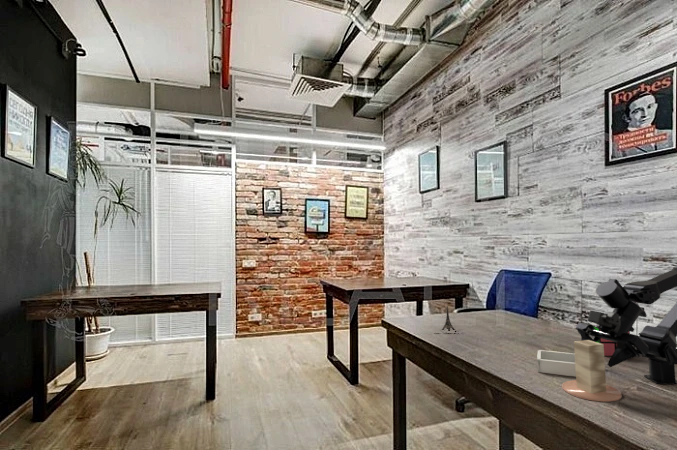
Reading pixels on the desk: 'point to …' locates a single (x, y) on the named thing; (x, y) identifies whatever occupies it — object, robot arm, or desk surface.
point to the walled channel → (556, 363)
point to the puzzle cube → (606, 343)
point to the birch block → (590, 366)
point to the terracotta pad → (607, 396)
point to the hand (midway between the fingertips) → (594, 360)
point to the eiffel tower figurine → (448, 322)
